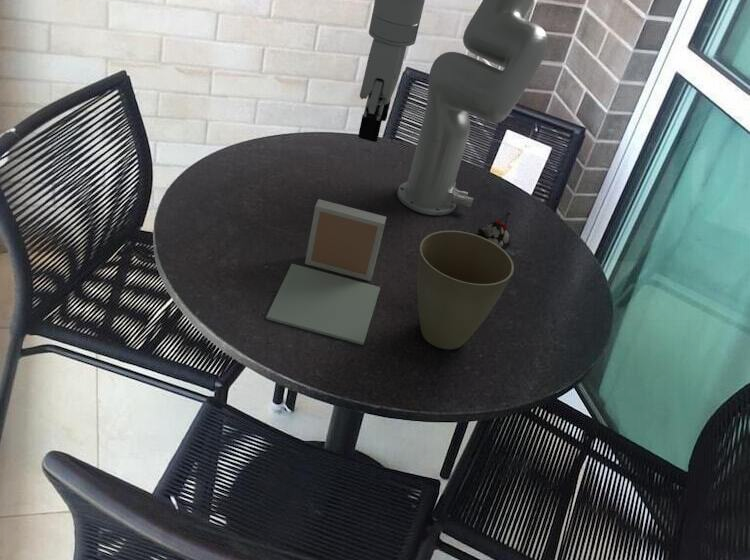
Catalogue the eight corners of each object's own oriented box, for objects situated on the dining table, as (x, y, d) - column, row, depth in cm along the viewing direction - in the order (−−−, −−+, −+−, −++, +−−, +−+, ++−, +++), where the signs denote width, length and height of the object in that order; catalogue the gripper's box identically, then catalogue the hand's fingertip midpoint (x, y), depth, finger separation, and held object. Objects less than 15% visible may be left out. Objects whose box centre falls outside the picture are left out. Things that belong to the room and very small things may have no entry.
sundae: (498, 280, 151) (523, 212, 143) (491, 299, 146) (516, 229, 137) (465, 268, 152) (487, 200, 144) (456, 286, 147) (479, 216, 139)
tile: (372, 273, 145) (386, 217, 138) (370, 281, 143) (384, 224, 136) (308, 256, 145) (318, 199, 139) (304, 264, 143) (315, 206, 136)
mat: (379, 289, 141) (380, 287, 141) (363, 345, 128) (363, 342, 128) (291, 265, 142) (291, 263, 142) (265, 318, 129) (266, 316, 128)
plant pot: (480, 313, 142) (506, 238, 133) (491, 371, 129) (521, 291, 120) (396, 301, 140) (417, 223, 131) (399, 358, 128) (423, 276, 119)
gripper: (380, 7, 135) (360, 104, 145) (360, 38, 120) (340, 144, 130) (423, 18, 134) (401, 115, 144) (409, 51, 120) (385, 155, 130)
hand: (372, 128), depth 137 cm, fingers open, 8 cm apart
